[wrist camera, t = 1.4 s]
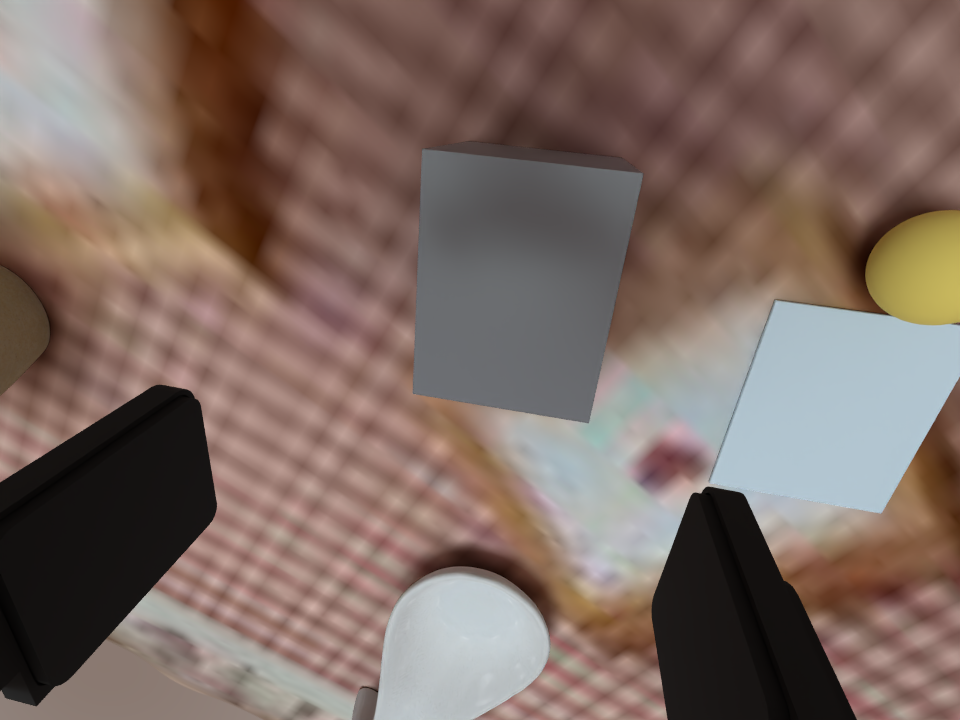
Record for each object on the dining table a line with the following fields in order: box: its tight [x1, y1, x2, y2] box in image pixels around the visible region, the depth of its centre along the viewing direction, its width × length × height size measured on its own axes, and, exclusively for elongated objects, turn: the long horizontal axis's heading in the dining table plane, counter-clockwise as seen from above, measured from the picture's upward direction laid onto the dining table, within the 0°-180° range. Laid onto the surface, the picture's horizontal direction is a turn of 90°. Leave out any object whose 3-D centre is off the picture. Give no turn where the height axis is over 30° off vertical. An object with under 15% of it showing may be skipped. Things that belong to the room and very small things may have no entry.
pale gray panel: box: [709, 300, 960, 513], centre depth 28 cm, size 12×10×1 cm
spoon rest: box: [352, 566, 550, 720], centre depth 40 cm, size 24×12×7 cm, turn 150°
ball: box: [865, 210, 960, 325], centre depth 22 cm, size 5×5×5 cm
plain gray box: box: [413, 141, 644, 423], centre depth 24 cm, size 10×8×9 cm
